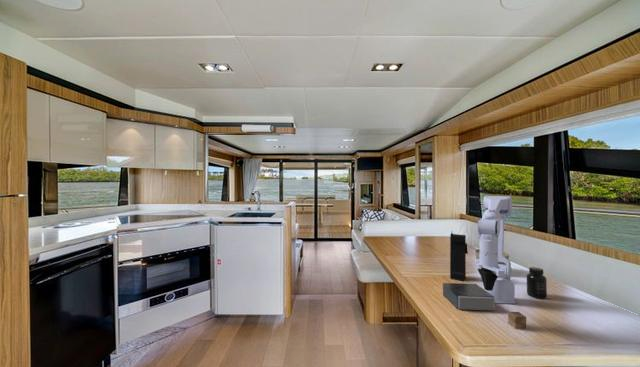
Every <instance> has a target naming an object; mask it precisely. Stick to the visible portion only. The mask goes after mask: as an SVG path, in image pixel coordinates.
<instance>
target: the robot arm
mask: <svg viewBox="0 0 640 367" xmlns="http://www.w3.org/2000/svg"><path fill="white" fill-rule="evenodd" d="M482 202H483V209H484V212H483V214H482V217H481V219H478V222H477V225H476V226H477V229H476V230H477V234H478V241H479V243H478V244H479V248H478V249H479V259H476V258H475V259H474V264H475V265H476V266H477V267H478V268H477V272H478V273H479V275H480V277H481V278H480V279H481V280H482V284H483V287H484V288H483V289H484V290H485V291H487V292H488V293H490V294H491V295H493V296H494V304H517V302H516V301H515V300H516V299H515V298H516V297H515V296H516V294H515V293H516V290H515V289H516V288H515V287H516V286H515V284H514V282H513V281H512V280H511V278H512V263H511V261H510V259H509V258H508V259H507V258H506V257H504V256H503V252H504V244H505V243H504V240H505V221H506V219H507V218H509V217H511V216H512V208H513V198H512V196H510V195H506V196H505V195H487V194H486V195H484V197H483V201H482ZM498 262H502V263H505V264H501V263H498ZM481 267H482V268H481Z"/></svg>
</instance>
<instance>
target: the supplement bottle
mask: <svg viewBox="0 0 640 367" xmlns="http://www.w3.org/2000/svg"><path fill="white" fill-rule="evenodd" d="M528 272H529V273H527V274H526V295H527V296H529V297H531V298H534V299H539V300H545V299H547V297H548V286H547V285H548V284H547V282H548V281H547V277H546V276H545V275H544V269H543V268H541V267H534V266H532V267H529V268H528Z"/></svg>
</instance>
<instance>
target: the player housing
mask: <svg viewBox="0 0 640 367" xmlns="http://www.w3.org/2000/svg"><path fill="white" fill-rule="evenodd" d="M442 295H443V297H444V298H445V299H447V301H448V302H449V303H450V304H451V305H452V306H453V307H454V308H456V309H457V310H460V309H459V308H458V296H468V297H493V298H494V296H493V295H491V294H490V293H488V292H487V290H485V288H482V287H481V286H480V285H478V284H477V283H463V282H462V283H453V282H443V283H442Z"/></svg>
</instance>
